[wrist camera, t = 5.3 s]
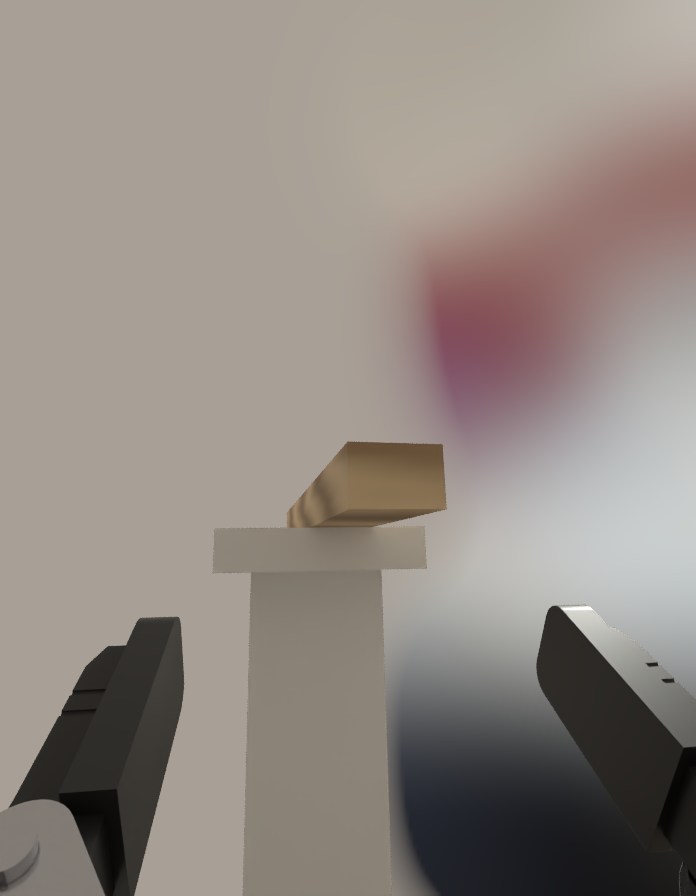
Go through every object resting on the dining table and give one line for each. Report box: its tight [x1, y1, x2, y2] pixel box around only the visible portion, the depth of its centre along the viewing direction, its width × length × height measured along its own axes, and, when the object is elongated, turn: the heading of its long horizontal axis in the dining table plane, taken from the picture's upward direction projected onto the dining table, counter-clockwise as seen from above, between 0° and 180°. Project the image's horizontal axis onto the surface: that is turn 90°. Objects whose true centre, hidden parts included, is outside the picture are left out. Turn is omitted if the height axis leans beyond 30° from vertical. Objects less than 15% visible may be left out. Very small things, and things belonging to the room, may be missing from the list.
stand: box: [213, 526, 427, 896], centre depth 26 cm, size 14×10×32 cm
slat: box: [287, 442, 446, 528], centre depth 26 cm, size 24×3×2 cm, turn 11°
